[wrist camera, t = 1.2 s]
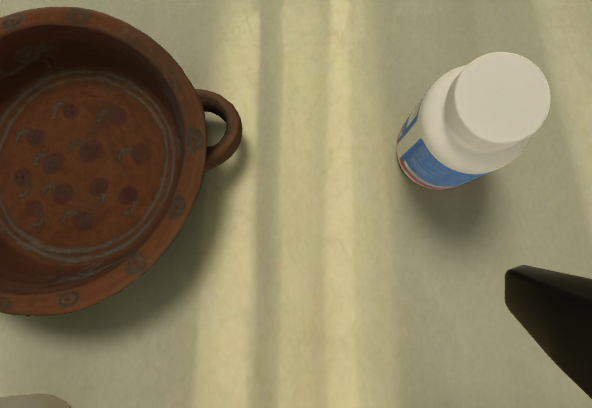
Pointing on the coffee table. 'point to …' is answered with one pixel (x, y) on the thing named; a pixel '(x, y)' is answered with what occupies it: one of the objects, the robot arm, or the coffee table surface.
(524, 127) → the pill bottle
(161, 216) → the dish
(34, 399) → the cup
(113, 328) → the coffee table surface
